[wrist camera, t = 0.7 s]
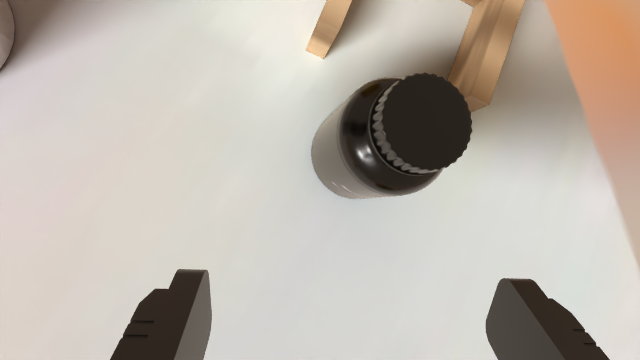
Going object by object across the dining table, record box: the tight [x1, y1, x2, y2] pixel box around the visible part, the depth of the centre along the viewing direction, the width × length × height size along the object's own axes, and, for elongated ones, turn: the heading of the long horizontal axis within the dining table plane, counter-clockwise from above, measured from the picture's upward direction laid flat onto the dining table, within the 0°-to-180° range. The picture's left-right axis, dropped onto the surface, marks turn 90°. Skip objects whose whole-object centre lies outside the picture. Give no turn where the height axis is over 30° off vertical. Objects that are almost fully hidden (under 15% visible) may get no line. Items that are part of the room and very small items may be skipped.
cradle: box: [306, 0, 525, 112], centre depth 29 cm, size 12×13×5 cm
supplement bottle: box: [311, 73, 472, 199], centre depth 24 cm, size 7×7×12 cm
